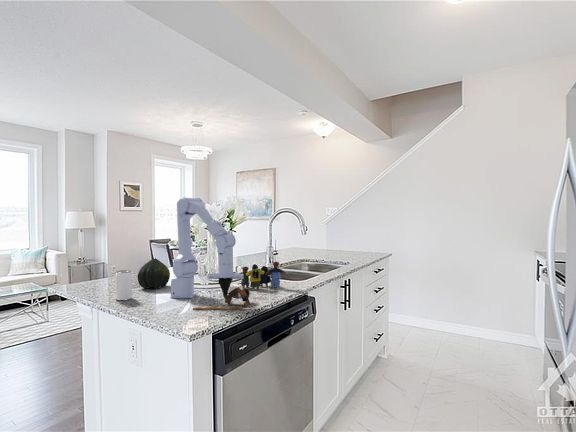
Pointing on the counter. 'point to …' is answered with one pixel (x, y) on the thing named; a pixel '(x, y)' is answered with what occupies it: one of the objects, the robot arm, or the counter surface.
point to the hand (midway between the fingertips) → (225, 296)
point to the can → (123, 285)
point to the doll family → (264, 277)
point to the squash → (153, 274)
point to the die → (235, 287)
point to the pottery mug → (234, 294)
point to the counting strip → (218, 308)
